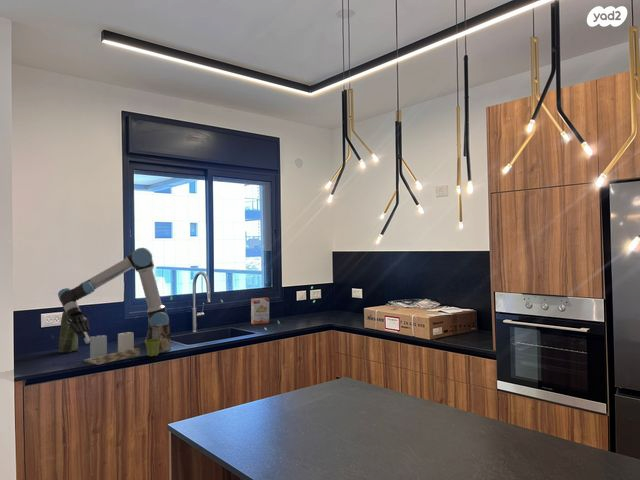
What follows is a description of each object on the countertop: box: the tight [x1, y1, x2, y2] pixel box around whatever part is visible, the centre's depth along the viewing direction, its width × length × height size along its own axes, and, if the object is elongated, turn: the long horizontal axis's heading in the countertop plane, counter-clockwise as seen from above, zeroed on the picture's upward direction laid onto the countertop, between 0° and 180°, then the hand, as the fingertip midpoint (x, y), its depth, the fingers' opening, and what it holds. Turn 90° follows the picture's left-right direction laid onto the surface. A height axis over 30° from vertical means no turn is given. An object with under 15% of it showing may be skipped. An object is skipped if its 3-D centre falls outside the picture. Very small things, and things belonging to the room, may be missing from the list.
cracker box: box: [250, 297, 270, 325], centre depth 383 cm, size 14×6×21 cm, turn 119°
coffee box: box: [152, 323, 172, 354], centre depth 287 cm, size 9×6×16 cm
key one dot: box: [117, 331, 135, 352], centre depth 274 cm, size 7×5×12 cm
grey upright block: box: [89, 334, 108, 359], centre depth 265 cm, size 7×5×12 cm
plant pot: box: [144, 339, 161, 357], centre depth 276 cm, size 9×9×9 cm
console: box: [83, 347, 141, 366], centre depth 269 cm, size 26×14×4 cm, turn 147°
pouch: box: [57, 310, 79, 354], centre depth 287 cm, size 11×12×25 cm
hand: (88, 341), depth 269 cm, fingers closed
